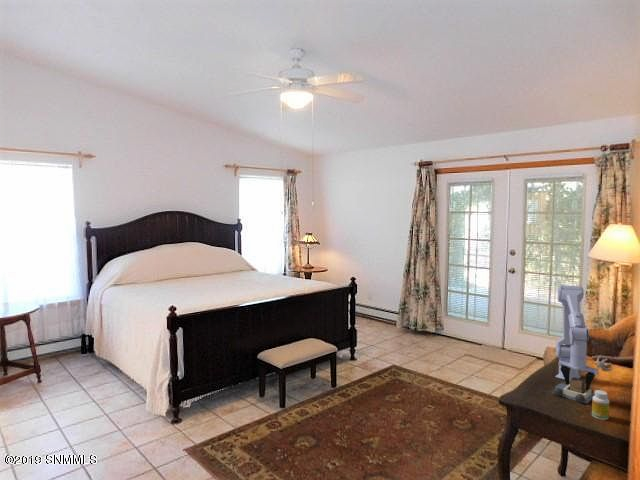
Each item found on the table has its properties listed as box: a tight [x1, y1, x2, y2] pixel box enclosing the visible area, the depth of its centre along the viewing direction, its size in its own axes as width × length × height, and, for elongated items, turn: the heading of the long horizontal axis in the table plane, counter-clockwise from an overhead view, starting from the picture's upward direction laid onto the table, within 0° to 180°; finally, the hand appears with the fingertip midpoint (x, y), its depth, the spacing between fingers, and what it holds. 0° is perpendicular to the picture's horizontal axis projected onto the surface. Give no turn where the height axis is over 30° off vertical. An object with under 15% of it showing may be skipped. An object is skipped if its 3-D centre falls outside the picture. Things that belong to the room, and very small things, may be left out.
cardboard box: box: [569, 377, 586, 394], centre depth 178 cm, size 4×4×6 cm
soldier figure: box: [595, 355, 613, 371], centre depth 210 cm, size 8×5×12 cm
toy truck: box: [552, 381, 595, 404], centre depth 179 cm, size 12×13×3 cm
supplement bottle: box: [591, 389, 610, 421], centre depth 160 cm, size 5×5×10 cm
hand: (577, 386), depth 178 cm, fingers open, 7 cm apart
